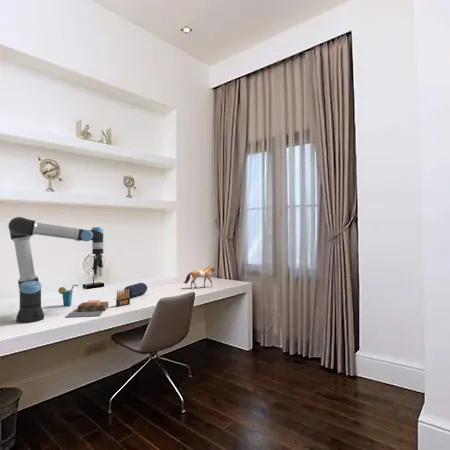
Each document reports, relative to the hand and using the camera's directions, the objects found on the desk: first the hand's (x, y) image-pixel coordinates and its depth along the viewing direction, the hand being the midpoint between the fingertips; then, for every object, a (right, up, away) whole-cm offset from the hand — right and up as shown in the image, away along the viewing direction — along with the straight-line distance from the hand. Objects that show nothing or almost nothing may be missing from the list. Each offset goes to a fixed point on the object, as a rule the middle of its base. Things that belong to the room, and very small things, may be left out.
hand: (97, 277), depth 246 cm
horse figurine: (+67, -22, +79) cm, 106 cm away
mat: (-1, -21, -22) cm, 30 cm away
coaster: (0, -17, -9) cm, 19 cm away
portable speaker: (+17, -22, +39) cm, 48 cm away
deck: (0, -21, -8) cm, 22 cm away
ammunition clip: (+17, -21, +4) cm, 28 cm away
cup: (-24, -22, +6) cm, 33 cm away
